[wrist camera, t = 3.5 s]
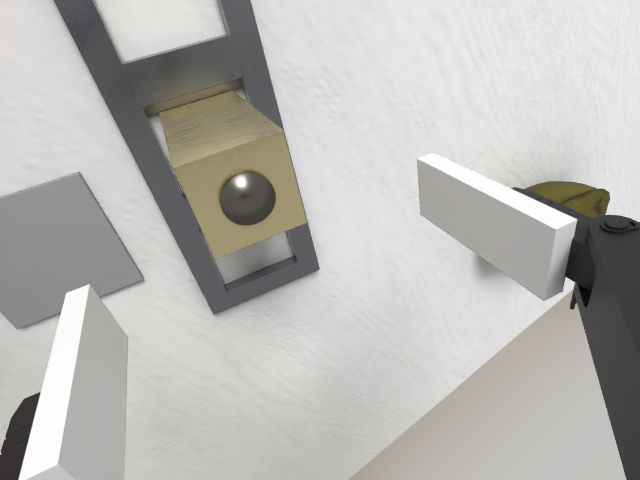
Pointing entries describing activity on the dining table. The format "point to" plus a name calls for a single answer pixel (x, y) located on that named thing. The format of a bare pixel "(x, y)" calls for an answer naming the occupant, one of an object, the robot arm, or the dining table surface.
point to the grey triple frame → (127, 110)
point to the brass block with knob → (233, 171)
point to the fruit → (575, 196)
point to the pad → (57, 249)
